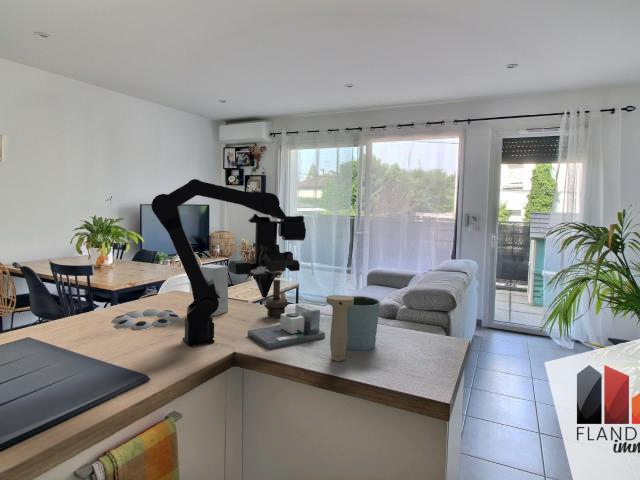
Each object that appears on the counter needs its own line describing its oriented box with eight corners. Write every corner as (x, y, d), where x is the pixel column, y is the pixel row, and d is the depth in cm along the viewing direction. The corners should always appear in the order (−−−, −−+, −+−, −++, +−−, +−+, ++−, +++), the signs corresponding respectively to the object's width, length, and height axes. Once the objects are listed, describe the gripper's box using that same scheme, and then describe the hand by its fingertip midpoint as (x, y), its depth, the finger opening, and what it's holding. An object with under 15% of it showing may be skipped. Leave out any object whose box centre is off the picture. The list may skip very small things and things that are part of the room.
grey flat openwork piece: (194, 320, 122) (194, 314, 121) (134, 336, 105) (134, 329, 105) (156, 309, 132) (156, 303, 132) (97, 322, 116) (96, 315, 116)
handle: (351, 364, 91) (354, 300, 90) (324, 362, 91) (326, 299, 90) (350, 356, 96) (353, 295, 94) (324, 355, 96) (326, 294, 95)
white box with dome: (296, 336, 104) (296, 320, 103) (280, 327, 110) (280, 313, 110) (313, 333, 107) (313, 318, 106) (296, 325, 114) (297, 310, 113)
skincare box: (228, 312, 130) (229, 266, 129) (213, 316, 125) (214, 268, 123) (211, 308, 135) (211, 263, 133) (195, 312, 129) (196, 265, 128)
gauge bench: (268, 349, 98) (269, 320, 98) (247, 335, 108) (248, 308, 107) (324, 337, 108) (325, 311, 108) (301, 326, 118) (301, 301, 117)
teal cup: (380, 341, 107) (382, 298, 106) (375, 354, 98) (377, 306, 97) (343, 336, 110) (345, 294, 109) (335, 348, 100) (337, 302, 99)
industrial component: (287, 313, 132) (289, 278, 131) (288, 319, 125) (289, 282, 124) (259, 313, 131) (260, 277, 130) (258, 319, 124) (259, 281, 123)
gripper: (245, 243, 93) (244, 308, 94) (311, 242, 103) (309, 300, 105) (228, 239, 102) (226, 298, 103) (290, 238, 113) (288, 292, 114)
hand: (264, 297), depth 106 cm, fingers closed
